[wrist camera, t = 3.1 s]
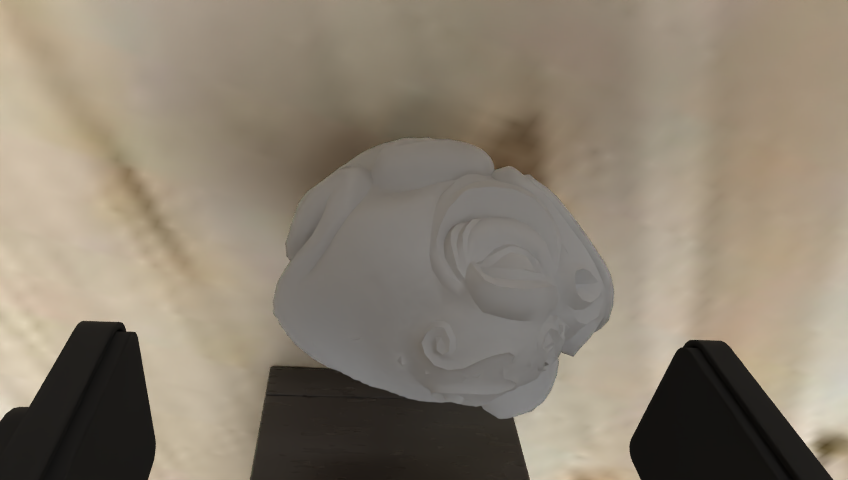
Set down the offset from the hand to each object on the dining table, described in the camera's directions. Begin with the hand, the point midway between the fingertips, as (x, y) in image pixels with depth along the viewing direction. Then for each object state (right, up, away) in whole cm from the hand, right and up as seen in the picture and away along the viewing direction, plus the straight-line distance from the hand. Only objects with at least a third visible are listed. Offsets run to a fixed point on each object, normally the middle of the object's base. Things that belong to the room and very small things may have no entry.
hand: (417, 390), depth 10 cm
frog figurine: (0, +4, +6) cm, 7 cm away
